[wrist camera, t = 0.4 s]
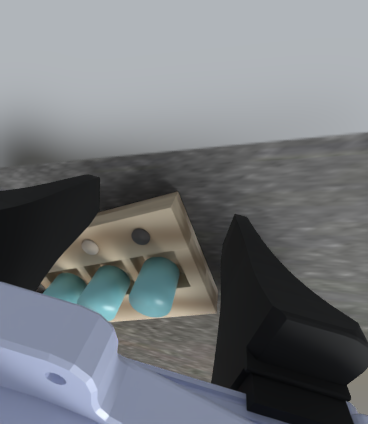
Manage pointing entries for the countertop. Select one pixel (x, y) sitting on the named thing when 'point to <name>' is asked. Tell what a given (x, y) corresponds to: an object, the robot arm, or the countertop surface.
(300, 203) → the countertop surface
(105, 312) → the button
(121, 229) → the button board
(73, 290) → the button
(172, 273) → the button
